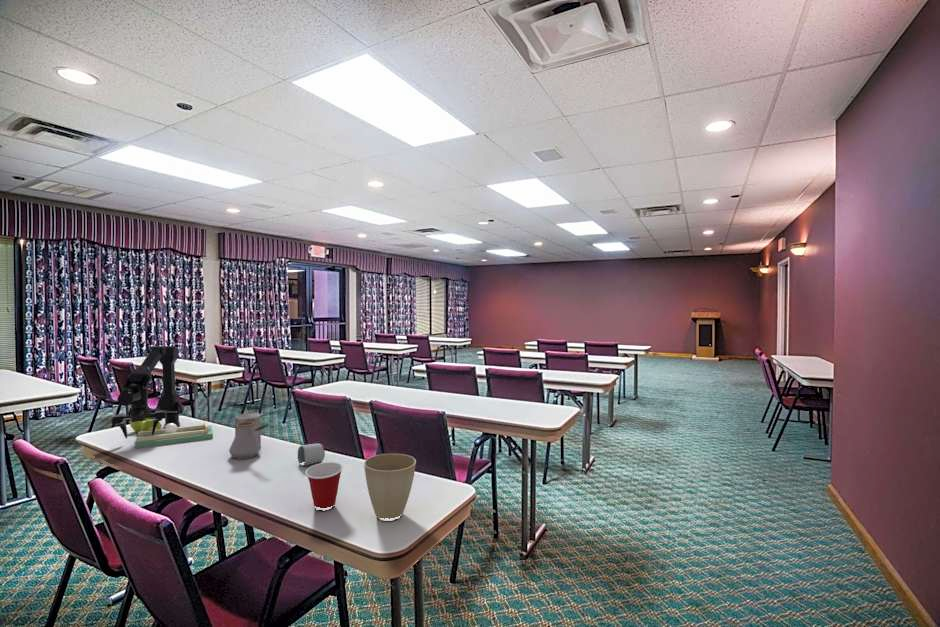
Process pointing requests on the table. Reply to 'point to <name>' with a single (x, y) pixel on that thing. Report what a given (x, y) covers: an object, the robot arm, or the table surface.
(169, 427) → the golf ball
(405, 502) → the plant pot
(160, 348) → the robot arm
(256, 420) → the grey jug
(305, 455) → the ceramic mug
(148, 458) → the table surface
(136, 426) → the dumbbell
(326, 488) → the plastic cup
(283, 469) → the table surface
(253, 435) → the coffee pot
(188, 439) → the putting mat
